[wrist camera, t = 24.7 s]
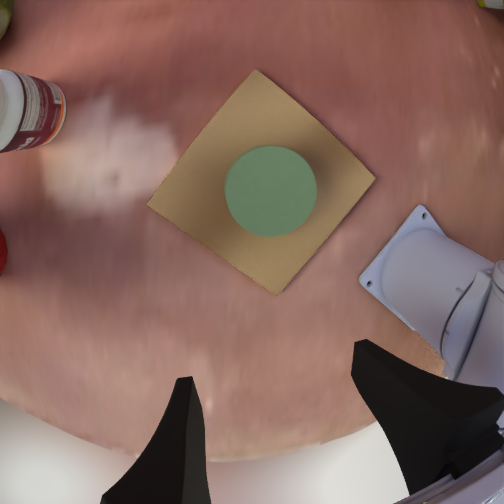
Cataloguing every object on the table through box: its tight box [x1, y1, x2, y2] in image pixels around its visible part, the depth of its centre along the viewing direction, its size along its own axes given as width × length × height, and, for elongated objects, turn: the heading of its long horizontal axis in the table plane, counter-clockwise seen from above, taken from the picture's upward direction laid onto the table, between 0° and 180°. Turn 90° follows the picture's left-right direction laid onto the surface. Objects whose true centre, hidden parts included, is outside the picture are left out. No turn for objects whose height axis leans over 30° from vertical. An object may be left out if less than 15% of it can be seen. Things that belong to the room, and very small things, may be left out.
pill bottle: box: [0, 69, 66, 153], centre depth 12 cm, size 5×5×8 cm
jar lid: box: [224, 145, 317, 237], centre depth 19 cm, size 6×5×2 cm
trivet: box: [147, 69, 376, 296], centre depth 20 cm, size 11×11×1 cm
